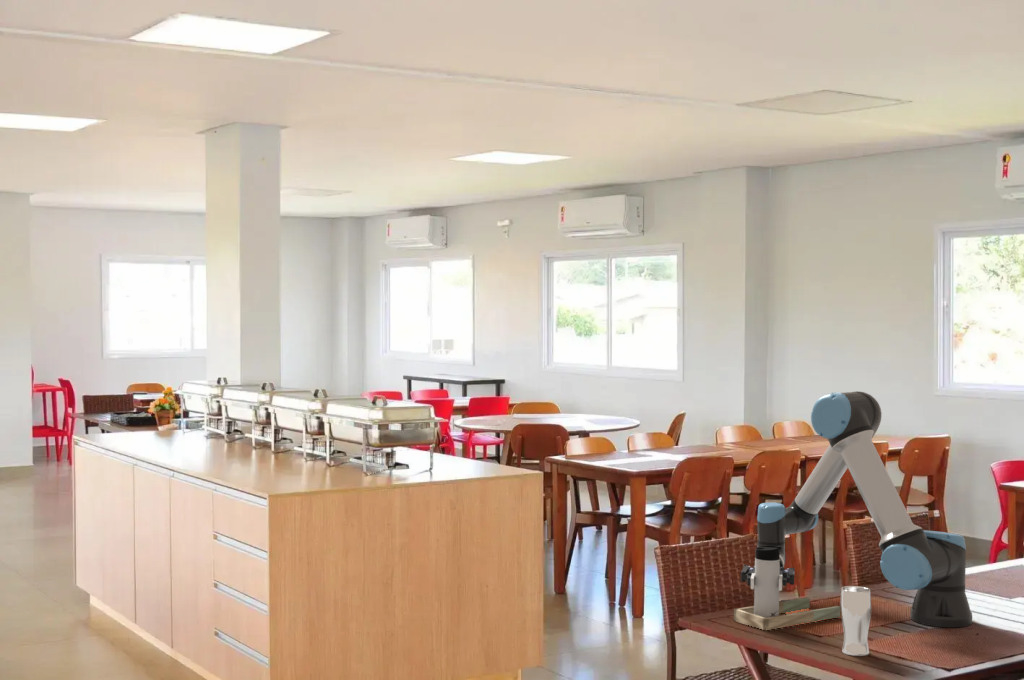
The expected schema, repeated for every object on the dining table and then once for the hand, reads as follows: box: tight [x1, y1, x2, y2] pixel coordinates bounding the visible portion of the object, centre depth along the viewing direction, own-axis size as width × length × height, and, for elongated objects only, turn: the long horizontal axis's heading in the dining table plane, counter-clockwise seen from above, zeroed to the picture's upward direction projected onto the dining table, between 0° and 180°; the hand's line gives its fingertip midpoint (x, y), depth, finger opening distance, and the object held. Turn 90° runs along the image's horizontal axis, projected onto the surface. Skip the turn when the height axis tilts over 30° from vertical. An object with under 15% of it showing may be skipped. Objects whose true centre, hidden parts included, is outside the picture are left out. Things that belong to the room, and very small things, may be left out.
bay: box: [733, 597, 841, 631], centre depth 303 cm, size 12×26×3 cm, turn 120°
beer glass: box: [839, 585, 872, 657], centre depth 273 cm, size 7×7×15 cm
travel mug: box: [753, 546, 781, 618], centre depth 300 cm, size 6×7×20 cm
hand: (766, 584), depth 295 cm, fingers closed on travel mug, 6 cm apart
